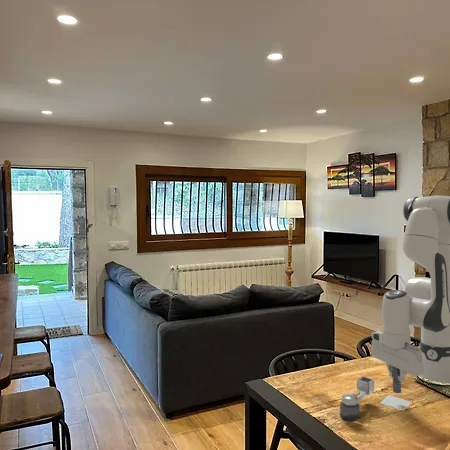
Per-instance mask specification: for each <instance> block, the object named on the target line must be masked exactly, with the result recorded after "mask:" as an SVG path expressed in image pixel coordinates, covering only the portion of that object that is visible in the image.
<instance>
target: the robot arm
mask: <svg viewBox="0 0 450 450" xmlns="http://www.w3.org/2000/svg"><path fill="white" fill-rule="evenodd" d="M402 213H403V217H404V219H405V220H406V221H407V222H406V227H405V229H404V230H405V231H404V235H403V239H402V240H403V241H402V250H403V253H404V254H405V256H406V257H407V258H408V259H409V260H410V261H412V262H414V263H416V264H417V265H419V266H421V267H423V268H424V269H425V270H427V271H428V273H429V276H430V277H424V276H421V277H420V276H419V277H412V278H410V279H409V280H408V281H406V284H405V285H404V286H405V288H404V290H402V289H401V290H400V289H393V290H388V291H387V292H385V293H384V295H383V298H382V304H381V319H382V321H383V322H382V323H383V325H382V328H381V330H378V331H374V332H371V339H372V340H371V355H372V357H373V358H375V359H377V360H379V361H381V362H383V363H385V366H386V369H387V371H388V376H389V377H390V378H392V379H393V369H392V366H394V367H396V368H398V369H400V372H401V374H400V375H399V376H398V381H400V382H401V383H404V382H406V376H407V374H409V375H411V376H414V377H417V376H421V377H423V378H425V379H428V380H431V381H436V382H444V383H450V195H449V196H448V195H427V196H413V197H410V198H408V199H407V200H406V201H405V202H404V205H403V210H402ZM410 325H411V326H412V327H417V328H420V341H419V347H418V346H416V345H413V344H411V328H410Z"/></svg>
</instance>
